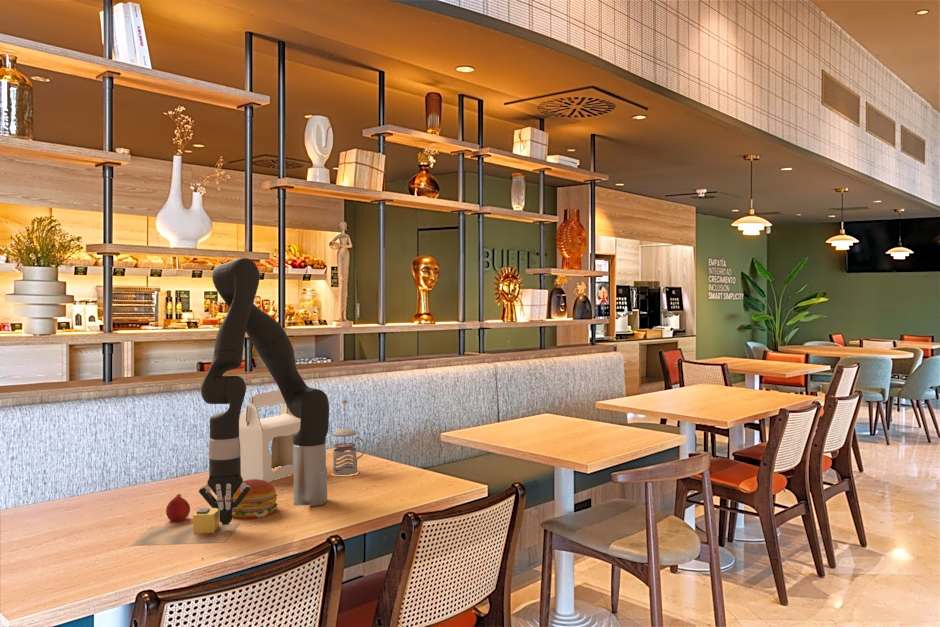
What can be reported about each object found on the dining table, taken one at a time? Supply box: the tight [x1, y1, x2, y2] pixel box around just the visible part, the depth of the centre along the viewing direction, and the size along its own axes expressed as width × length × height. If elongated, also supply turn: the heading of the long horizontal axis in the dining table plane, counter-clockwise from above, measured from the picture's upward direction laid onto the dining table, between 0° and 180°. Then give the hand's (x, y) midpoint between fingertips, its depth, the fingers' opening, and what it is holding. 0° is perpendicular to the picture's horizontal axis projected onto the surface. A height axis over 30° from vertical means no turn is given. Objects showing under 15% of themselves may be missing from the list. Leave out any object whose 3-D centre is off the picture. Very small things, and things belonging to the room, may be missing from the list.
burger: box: [232, 479, 279, 520], centre depth 201 cm, size 14×14×10 cm
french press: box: [331, 399, 366, 475], centre depth 250 cm, size 10×12×25 cm
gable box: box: [239, 389, 301, 483], centre depth 248 cm, size 22×13×28 cm, turn 152°
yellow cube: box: [192, 507, 220, 533], centre depth 186 cm, size 5×5×5 cm
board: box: [130, 522, 241, 547], centre depth 181 cm, size 22×18×1 cm
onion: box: [165, 493, 191, 523], centre depth 195 cm, size 6×6×8 cm
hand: (225, 523), depth 186 cm, fingers closed
